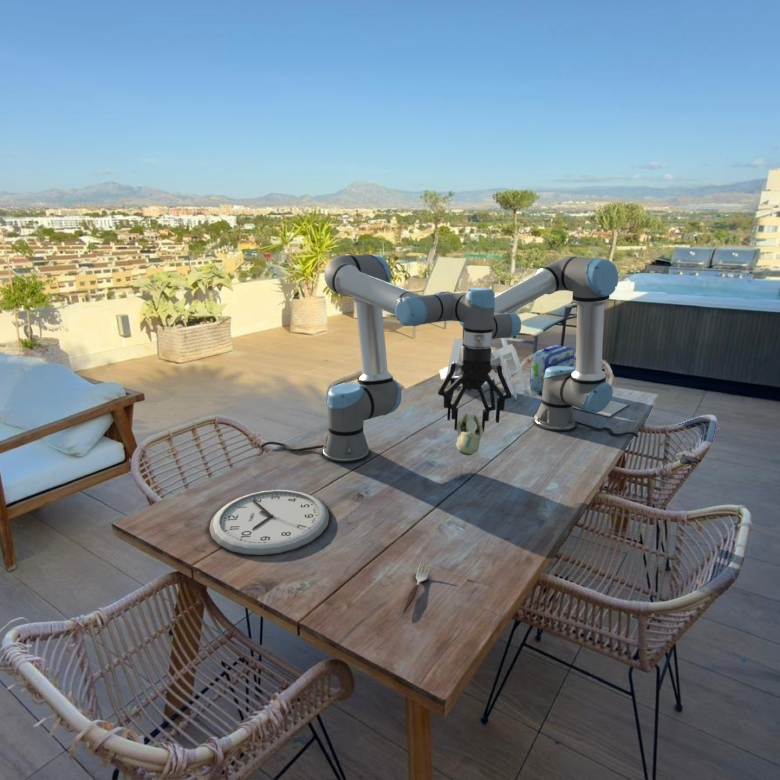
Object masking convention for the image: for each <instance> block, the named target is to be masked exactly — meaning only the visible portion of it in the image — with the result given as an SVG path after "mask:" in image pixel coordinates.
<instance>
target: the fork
mask: <svg viewBox="0 0 780 780" xmlns="http://www.w3.org/2000/svg"><path fill="white" fill-rule="evenodd" d="M422 561H423V560H422V559H421V560H420V564H419V566H418V570H417V572H416V575H415V579H416V581H417V583H416V584H415V585H414V587H413V588H412V589H411V591H410V592H409V594H408V597H407V600H406V603H405V605H404V610H403V611H402V613H403V614H405V613H406V612H407V610H408V608H409V606H410V604H411V603H412V602H413V600H414V599H415V597H416V595H417V591H418V588H419V584H420V583H422V582H425V581H427V579H428V578H429V575H430V569H431V565H432V562H430V563H429V561H427V562H426V560H424V562H423V564H422ZM425 562H426V563H425ZM428 563H429V564H428ZM425 564H426V565H425ZM428 565H429V566H428ZM421 566H422V567H421Z"/></svg>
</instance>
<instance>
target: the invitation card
mask: <svg viewBox="0 0 780 780" xmlns="http://www.w3.org/2000/svg"><path fill="white" fill-rule="evenodd" d="M628 406H629V404H627V403H623V402H618V401H614V400H610V402H609V404H608V405H607V406H606V407H605V408H604V409H603V410H602V411H600V412H597V413H595V414H596V415H600V416H604V417H608V418H609V417H611V416H613V415H614V414H616V413H617V412H619V411H621V410H623V409H624V408H626V407H628ZM573 409H575V410H581V411H584V410H583V409H580V408H577V407H575V406H573Z"/></svg>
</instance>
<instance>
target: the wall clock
mask: <svg viewBox="0 0 780 780" xmlns="http://www.w3.org/2000/svg"><path fill="white" fill-rule="evenodd" d="M329 521H330V514H329V509H328V507H327V506H326V505H325V504H324V503H323V502H322V501H321V500H320V499H318V498H317V497H315V496H313V495H310V494H308V493H304V492H301V491H295V490H291V489H290V490H288V489H272V490H270V489H269V490H262V491H258V492H252V493H249V494H246V495H244V496H240V497H238V498H235V499H234V500H231V501H230V502H229V503H226V504H225V505H224V506H223V507H222V508H221V509H219V510H218V511H216V513H215V514H214V516H213V517H212V518H211V521H210V524H209V533H210V536H211V539H212V540H213V541H214V542H215V543H216V544H217V545H218V546H219V547H222V548H224V549H226V550H228V551H230V552H234V553H237V554H243V555H254V556H266V555H274V554H275V555H276V554H281V553H285V552H289V551H292V550H296V549H298V548H301V547H304V546H305V545H307V544H309V543H311V542H313V541H314V540H316V539H317V538H318V537H319V536H321V535H322V534H323V532H324V531H325V530H326V529H327V527H328V525H329Z"/></svg>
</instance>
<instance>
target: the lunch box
mask: <svg viewBox="0 0 780 780" xmlns="http://www.w3.org/2000/svg"><path fill="white" fill-rule="evenodd" d="M574 363H575V348H573V347H571V346H570V347H568V346H563V345H551V346H548V347H544V348H543V349H539V350H536V351H535V352H534V354H533V356H532V358H531V363H530V374H529V391H532V392H536V393H540V394H542V391H543V379H544V375H545V370H546V369H547V368H549V367H555V366H569V367H574Z"/></svg>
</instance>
